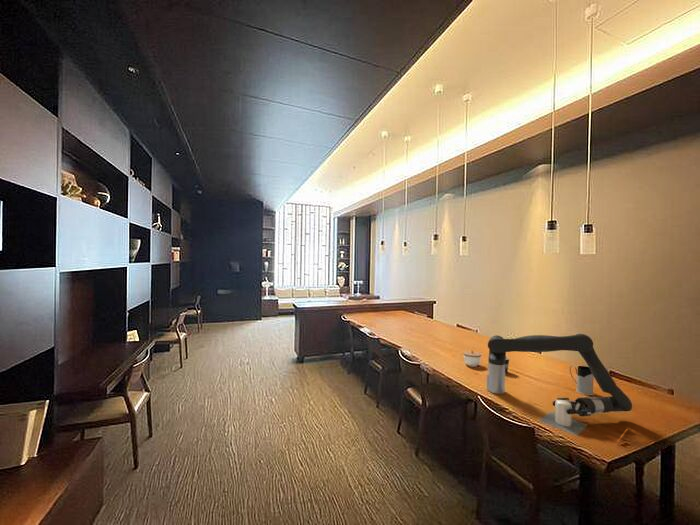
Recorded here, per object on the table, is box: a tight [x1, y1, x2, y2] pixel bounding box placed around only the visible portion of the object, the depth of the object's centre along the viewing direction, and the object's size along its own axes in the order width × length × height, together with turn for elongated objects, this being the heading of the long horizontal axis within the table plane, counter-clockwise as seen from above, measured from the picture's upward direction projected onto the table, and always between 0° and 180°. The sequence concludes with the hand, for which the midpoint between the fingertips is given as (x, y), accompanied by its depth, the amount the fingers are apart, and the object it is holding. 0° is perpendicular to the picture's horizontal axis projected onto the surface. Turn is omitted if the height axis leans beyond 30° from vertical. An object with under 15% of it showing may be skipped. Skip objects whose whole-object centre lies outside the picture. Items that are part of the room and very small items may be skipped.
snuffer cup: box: [554, 399, 573, 426], centre depth 152 cm, size 6×6×10 cm
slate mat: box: [538, 411, 588, 436], centre depth 152 cm, size 16×15×1 cm
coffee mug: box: [505, 356, 510, 374], centre depth 224 cm, size 12×9×10 cm
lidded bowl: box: [463, 350, 482, 368], centre depth 238 cm, size 13×13×11 cm
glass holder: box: [569, 365, 595, 396], centre depth 192 cm, size 9×14×15 cm, turn 15°
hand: (560, 407), depth 152 cm, fingers open, 8 cm apart
